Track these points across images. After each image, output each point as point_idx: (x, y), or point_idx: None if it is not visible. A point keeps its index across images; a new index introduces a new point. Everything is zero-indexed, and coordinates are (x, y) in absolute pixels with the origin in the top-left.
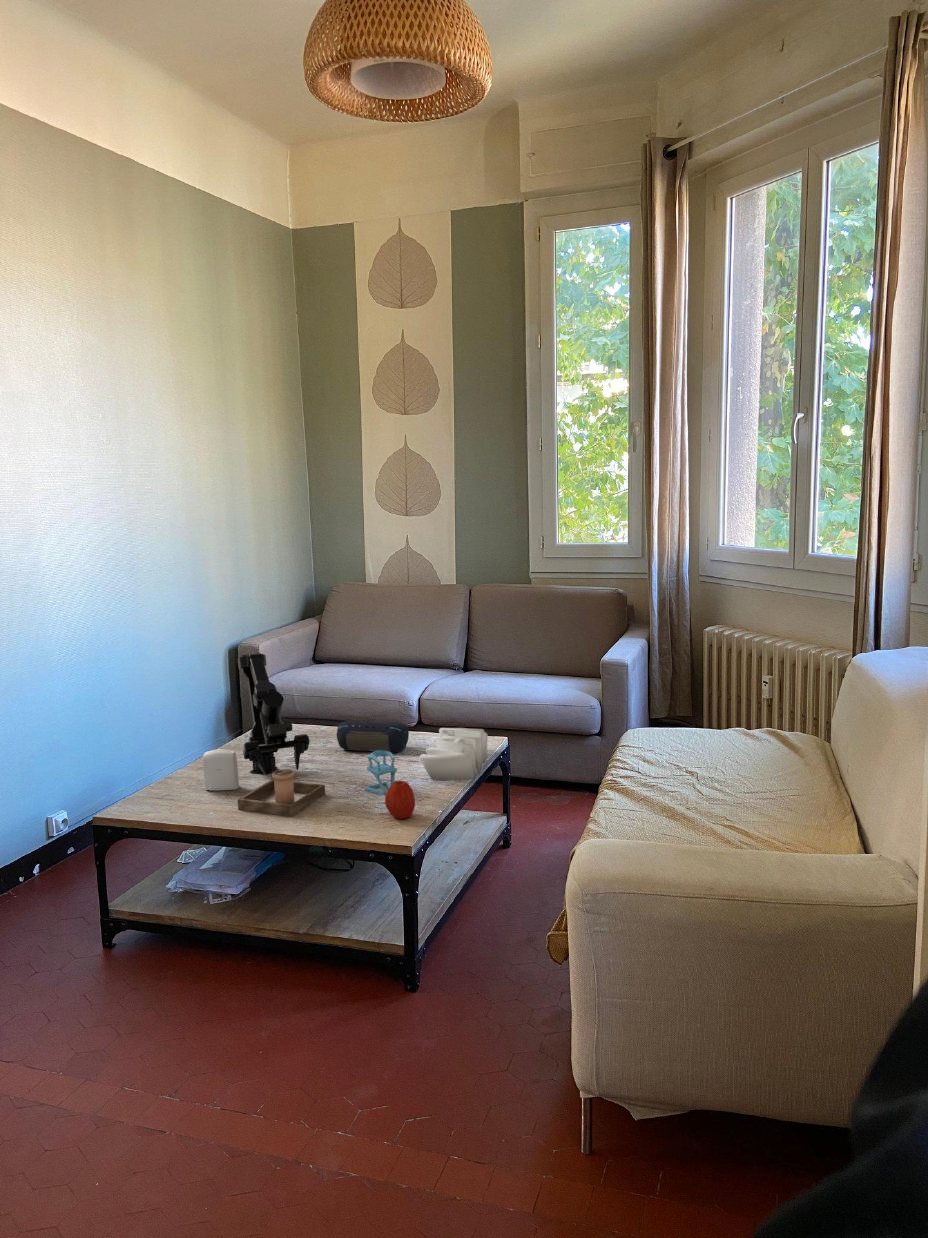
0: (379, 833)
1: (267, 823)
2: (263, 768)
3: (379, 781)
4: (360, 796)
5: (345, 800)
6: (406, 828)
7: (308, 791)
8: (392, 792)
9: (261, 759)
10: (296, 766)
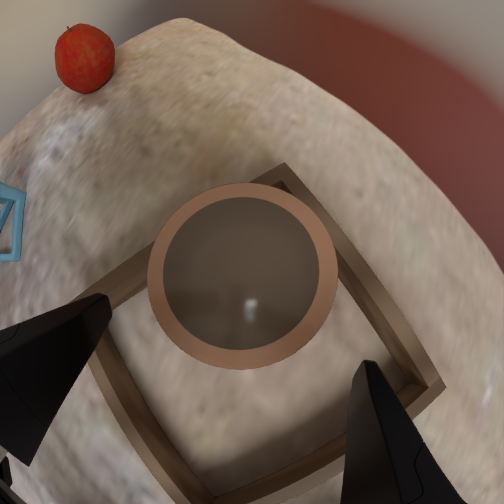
0: (177, 42)
1: (377, 187)
2: (390, 393)
3: (4, 184)
4: (47, 223)
5: (82, 219)
6: (134, 48)
7: (119, 366)
8: (96, 29)
9: (412, 475)
10: (94, 312)
